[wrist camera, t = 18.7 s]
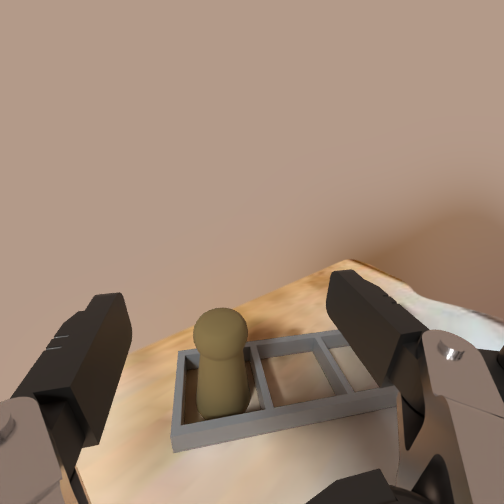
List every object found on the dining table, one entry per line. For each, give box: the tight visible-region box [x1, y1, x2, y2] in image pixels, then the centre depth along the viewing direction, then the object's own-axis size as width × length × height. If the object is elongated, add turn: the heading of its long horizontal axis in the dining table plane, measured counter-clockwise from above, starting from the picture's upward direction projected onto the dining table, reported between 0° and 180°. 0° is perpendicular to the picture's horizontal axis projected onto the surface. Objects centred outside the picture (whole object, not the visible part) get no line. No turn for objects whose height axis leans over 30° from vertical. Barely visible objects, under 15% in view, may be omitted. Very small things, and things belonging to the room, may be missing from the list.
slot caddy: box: [170, 330, 399, 453], centre depth 28 cm, size 27×10×2 cm, turn 101°
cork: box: [193, 308, 250, 420], centre depth 25 cm, size 6×6×11 cm
